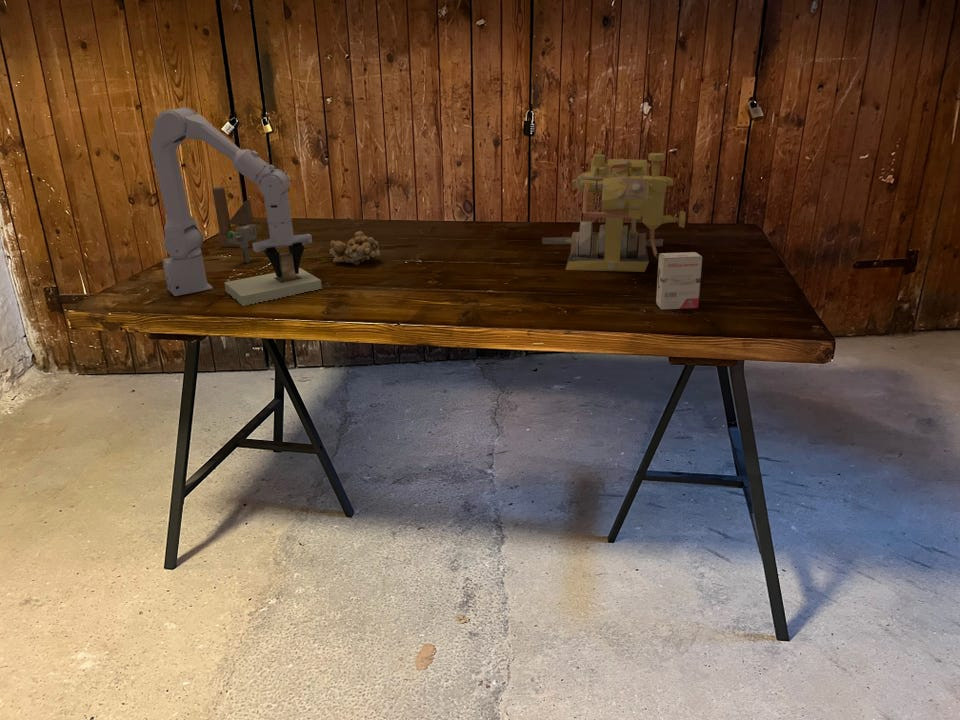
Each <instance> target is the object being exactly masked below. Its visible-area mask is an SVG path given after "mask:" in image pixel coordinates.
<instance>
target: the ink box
mask: <svg viewBox="0 0 960 720" xmlns="http://www.w3.org/2000/svg"><path fill="white" fill-rule="evenodd" d="M702 265H703V256H702V255H700V254H699V253H698V252H695V251H690V252H665V253H664V252H662V253H661V252H660V253H658V265H657V266H658V267H657V279H656V294H655V295H656V297H655V299H656V300H655V303H656V305H657V306H658V307H659V308H660V310H680V309H683V310H685V309H698V308H699V302H700V301H699V300H700V292H701V291H700V290H701V278H702Z"/></svg>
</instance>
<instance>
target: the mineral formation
mask: <svg viewBox="0 0 960 720" xmlns="http://www.w3.org/2000/svg"><path fill="white" fill-rule="evenodd" d="M330 246H331V248H330V249H329V254H330V255H331V256H332V257H334V258H333V260H332V262H333V263H340V262H342V263H343V262H345V263H351V264H354V265H355V266H358V265H360V263H363V262H364V261H369V260H371V258H379V257H380V256H381V252H380V250H379V249H380V247H379V242H378V241H377V240H375V239H374V238H373V237H370V236H369V237H368V236H367V235H365V233H364V232H363V231H361V230H360V231H357V232H354V237H353V238H351V239H349V240H348V241H347V242H342V241H341V240H338V239H337V240H330Z"/></svg>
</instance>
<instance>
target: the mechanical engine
mask: <svg viewBox="0 0 960 720" xmlns="http://www.w3.org/2000/svg"><path fill="white" fill-rule="evenodd" d="M647 157H648V160H647V159H633V158H632V159H630V158H629V159H626V158H624V157H621V158H609V159H607V163H606V155H605V154H602V149H599V148H597V153H596V154H593V157H592V160H591V163H590V172H589V171H587V172H586V171H585V172H581V173H580V174H579V176H578V177H577V179H572V186H574V187H576V189H577V191H579V192H583V193H582V211H581V212H582V214H583V215H584V216H585V217H587V218H605V223H604V224H600V226H599V232H597V231H596V232H595V231H594V232H593V221H580V223H579V224H580V225H579V231H573V232H572V234H571V236H560V237H559V236H558V237H556V236H555V237H542V238H541V241H542V242H541V243H542V245H570V253H569V255H568V258H567V262H566V266H565V271H596V272H598V271H599V272H600V271H601V272H629V273H630V272H632V273H633V272H637V273H639V272H641V273H644V272H646V269H647V267H648V265H649V263H650V260H649V255H648V250H647V248H646V247H651V249H652V252H653V255H654V258H656V260H659V254H658V251H657V248H656V247H663V246H664V238H655V231H656V230H657V228H659V227H660V226H661V225H663V224H667V223H674V222H678V224H677V225H678V227H680V228H682V229H685V226H686V225H685V224H686V211H685V210H679V213H678V216H677V217H676V216H675V217H674V216H673V215H672V214H670V215H669V214H667V215H665V214H664V210H665V209H664V207H665V198H666V193H667V187H674V181H675V180H674V178H672V177H669V176H665V175H664V176H662V175H660V171H661V167H660V163H659V162H661V161H665V160H666V154H665V153H662V152H655V153H654V152H650V153H648V156H647ZM648 161H651V163H648ZM651 165H652V166H651ZM650 167H651V175H650V172H649V170H648V168H650ZM589 193H602V195H601V211H588V199H589V198H588V196H589ZM641 217H642V218H641ZM625 219H631V222H630V228H629V226H628V225H624V220H625ZM641 219H642V221H641V222H642V223H643V225H644V226H645V227H646V228H647V229H648V230H649V239H646V238H647V233H645V232H644V233H640V232H639V231H637V229H636V228H637V221H638V220H641ZM628 229H629V230H628Z"/></svg>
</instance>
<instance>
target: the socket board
mask: <svg viewBox="0 0 960 720" xmlns="http://www.w3.org/2000/svg"><path fill="white" fill-rule="evenodd" d="M295 275H296V280H293V281H288V282H283V283H281V282H280V278H279V277H277V276H276V273H275V272H271V273H266V274H261V275H260V274H259V275H255V276H251V277H246V278H239V279H235V280H230V281H224V283H223V284H224V288H225V292H226V293H227V294H228V295H229V294H230V295H231V296H232V298H233V299H234V300H235V299H236V300H237V301H238V302H237V301H236V300H235V301H236V302H237V303H238V304H240V305H241V306H243V307H247V306H251V305H250V304H252V305H256V304H259V303H258V302H261V303H264V302H263V301H266V302H269V301H268V300H271V301H274V300H273V299H275V300H278V298H280V299H283V298H282V297H285V298H287V297H286V296H290V297H292V296H291V295H294V296H296V295H295V294H299V293H304V292H308V291H313V292H315V291H314V290H318V289H322V290H323V288H322V279H320V278H318V277H316V276H315V275H313V274H311V273H309V272H308V271H306V270H305V269H303V268H301V267H299V274H295ZM318 291H319V290H318ZM304 294H305V293H304ZM230 295H229V296H230ZM299 295H300V294H299ZM231 296H230V297H231ZM255 303H256V304H255ZM246 305H247V306H246Z"/></svg>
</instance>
